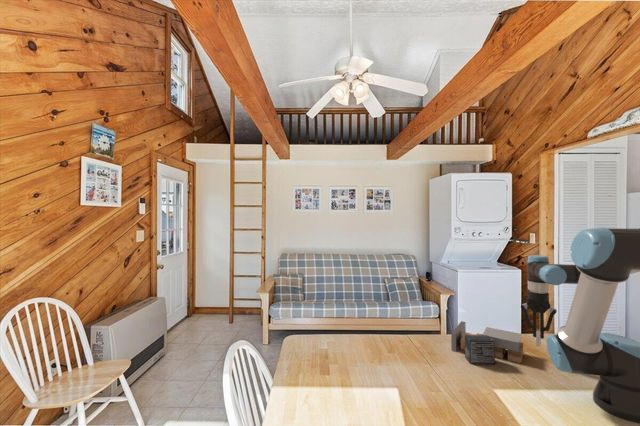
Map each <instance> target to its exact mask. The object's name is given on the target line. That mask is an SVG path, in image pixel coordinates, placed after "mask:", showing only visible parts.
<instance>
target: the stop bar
mask: <svg viewBox="0 0 640 426" xmlns="http://www.w3.org/2000/svg"><path fill="white" fill-rule="evenodd" d="M466 325H467V324H466V321H460V322H459V324H458V325H457V326H455V328H454V329H453V331H452V332H451V334H450V335H451V337H450V338H451V339H450V340H451V341H450V343H451V351H453V352H457V350H458V349H459V348H460V347H461V338H462V337H463V336H464V335H465V333H467V332H466V331H467V330H466V327H467V326H466Z"/></svg>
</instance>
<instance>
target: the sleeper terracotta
mask: <svg viewBox="0 0 640 426" xmlns="http://www.w3.org/2000/svg"><path fill="white" fill-rule="evenodd" d="M465 335H476V334H473V333H469V332H466V333H465ZM465 335H464V336H463V337H462V338H461V345H460V349H461V350H464V351H465Z"/></svg>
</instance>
